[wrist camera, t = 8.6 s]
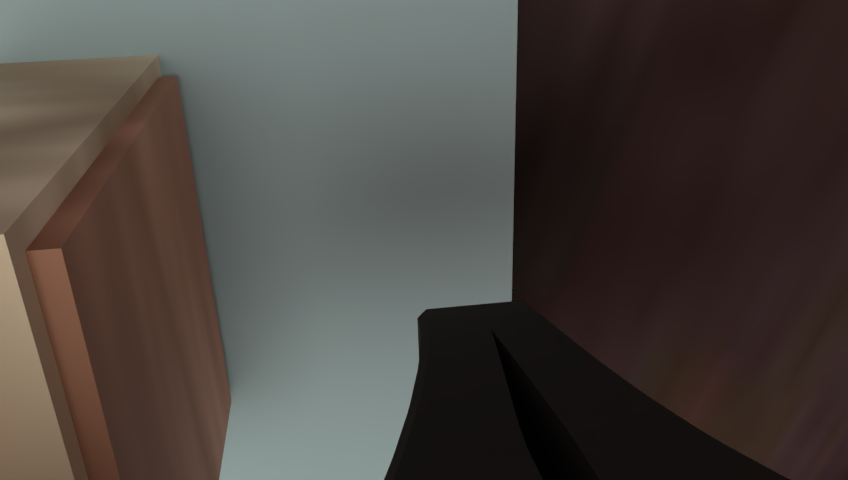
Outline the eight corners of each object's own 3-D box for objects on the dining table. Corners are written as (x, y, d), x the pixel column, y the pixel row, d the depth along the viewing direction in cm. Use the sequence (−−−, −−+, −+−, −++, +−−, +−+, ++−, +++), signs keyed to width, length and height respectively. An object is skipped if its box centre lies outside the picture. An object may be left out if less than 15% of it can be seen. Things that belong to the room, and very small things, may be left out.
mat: (509, -217, 12) (522, -223, 12) (500, 470, 18) (507, 495, 18) (-714, -190, 11) (-788, -194, 10) (-284, 559, 17) (-311, 589, 16)
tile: (176, 53, 13) (41, 230, 6) (234, 404, 16) (182, 759, 9) (-4, 64, 12) (-330, 260, 6) (90, 419, 15) (-64, 795, 9)
